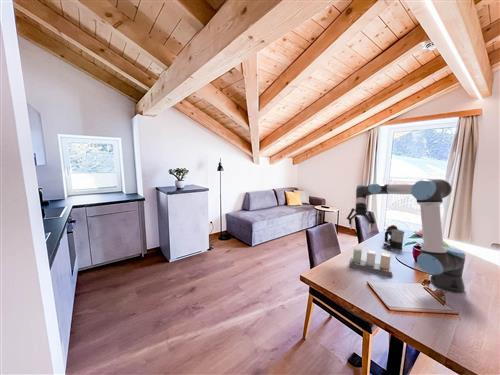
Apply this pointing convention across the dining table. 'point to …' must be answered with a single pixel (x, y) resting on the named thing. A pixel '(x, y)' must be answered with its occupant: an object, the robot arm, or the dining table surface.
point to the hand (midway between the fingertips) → (360, 230)
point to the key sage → (357, 255)
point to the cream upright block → (370, 258)
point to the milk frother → (394, 239)
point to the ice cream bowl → (391, 229)
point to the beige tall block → (385, 261)
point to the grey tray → (371, 268)
